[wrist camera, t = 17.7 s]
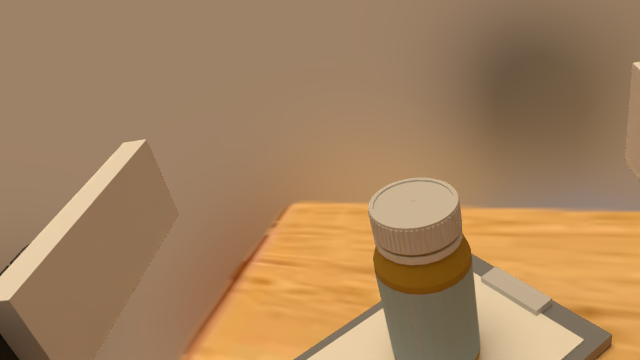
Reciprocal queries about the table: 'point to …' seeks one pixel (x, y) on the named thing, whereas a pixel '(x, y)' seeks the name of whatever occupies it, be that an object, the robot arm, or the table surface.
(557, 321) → the clipboard
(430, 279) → the bottle
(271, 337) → the table surface
